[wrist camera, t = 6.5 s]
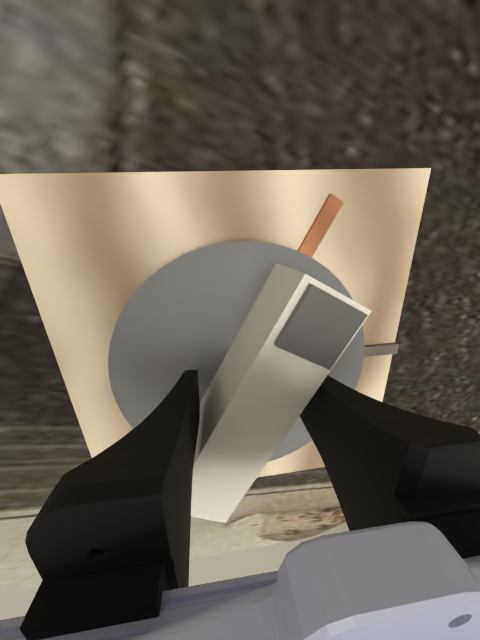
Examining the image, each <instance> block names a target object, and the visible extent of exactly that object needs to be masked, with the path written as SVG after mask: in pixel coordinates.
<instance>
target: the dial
mask: <svg viewBox="0 0 480 640" xmlns="http://www.w3.org/2000/svg"><path fill="white" fill-rule="evenodd" d="M371 312H372V311H371V310H369V309H368V308H366V307H364V306H362V305H360V304H359V303H357V302H355V301H353V299H352V297H351V295H350V294H349V292H348V291H347V289H346V288H345V287H344V285H343V284H342V283H341V281H340V280H339V279H338V278H337V277H336V276H335V275H334V274H333V273H332V272H331V271H330V270H328V269H327V268H326V267H325V266H323V265H322V264H320V263H319V262H317V261H316V260H315V259H313V258H311V257H309V256H307V255H305V254H303V253H301V252H299V251H297V250H294V249H291V248H288V247H285V246H282V245H278V244H272V243H266V242H260V241H230V242H221V243H216V244H212V245H208V246H204V247H200V248H198V249H195V250H193V251H191V252H188V253H186V254H183V255H181V256H180V257H178V258H176V259H175V260H173V261H171V262H169V263H168V264H166V265H164V266H163V267H161V268H160V269H159V270H158V271H156V272H155V273H154V274H153V275H151V276H150V277H149V278H148V279H147V280H146V281H145V282H144V283H143V284H142V285H141V286H140V287H139V288H138V289H137V290H136V291H135V292H134V294H133V295H132V296H131V298H130V299H129V301H128V302H127V304H126V305H125V307H124V308H123V310H122V312H121V314H120V316H119V318H118V320H117V322H116V324H115V327H114V331H113V334H112V337H111V341H110V347H109V355H108V373H109V379H110V384H111V389H112V392H113V395H114V398H115V401H116V403H117V405H118V407H119V409H120V411H121V413H122V414H123V416H124V418H125V419H126V420H127V422H128V423H129V424H130V426H131V427H132V428H133V429H134V428H135V427H136V426H137V425H139V424H140V423H141V422H142V421H143V420H144V419H145V418H146V417H147V416H148V415H149V414H150V413H151V412H152V411H153V410H154V409H155V408H156V407H157V406H158V405H159V404H160V403H161V401H162V400H163V399H164V398H165V397H166V396H167V394H168V393H169V392H170V391H171V389H172V388H173V387H174V385H175V384H176V383H177V381H178V380H179V378H180V377H181V375H182V374H183V372H184V371H185V370H198V383H199V397H200V420H199V429H198V436H197V443H196V450H195V458H194V465H193V475H192V497H191V517H197V518H202V519H208V520H213V521H218V522H224V523H226V521H227V520H228V518H229V517H230V515H231V514H232V512H233V511H234V510H235V508H236V507H237V505H238V504H239V502H240V501H241V499H242V498H243V497H244V495H245V494H246V492H247V491H248V489H249V488H250V486H251V485H252V484H253V482H254V481H255V479H256V478H257V476H258V475H259V473H260V472H261V471H262V469H263V468H264V466H265V465H266V463H267V462H270V461H273V460H276V459H279V458H281V457H283V456H286V455H288V454H290V453H292V452H294V451H296V450H298V449H300V448H302V447H303V446H305V445H306V444H308V443H309V442H311V441H312V439H311V437H310V435H309V433H308V431H307V429H306V427H305V425H304V423H303V422H302V420H301V418H300V414H301V413H302V411H303V410H304V408H305V407H306V406H307V404H308V403H309V401H310V400H311V398H312V397H313V395H314V394H315V392H316V391H317V390H318V388H319V387H320V385H321V384H322V382H323V381H324V379H325V378H326V377H327V375H329V376H330V377H332V378H334V379H335V380H337V381H339V382H341V383H343V384H344V385H346V386H348V387H350V388H352V389H354V390H355V388H356V386H357V383H358V380H359V377H360V374H361V370H362V366H363V360H364V349H365V346H364V332H363V327H362V325H363V323H364V322H365V320H366V319H367V317H368V316H369V314H370V313H371Z"/></svg>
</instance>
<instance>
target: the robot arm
mask: <svg viewBox="0 0 480 640" xmlns="http://www.w3.org/2000/svg"><path fill="white" fill-rule="evenodd" d="M300 418H301V420H302V422H303V423H304V425H305V427H306V429H307V431H308V433H309V435H310V437H311V439H312V440H313V442H314V444H315V446H316V448H317V450H318V452H319V454H320V456H321V458H322V460H323V463H324V465H325V468H326V470H327V472H328V475H329V477H330V480H331V482H332V485H333V487H334V490H335V493H336V495H337V498H338V500H339V503H340V506H341V508H342V511H343V514H344V517H345V519H346V522H347V525H348V528H349V530H350V531H348V532H342V533H336V534H330V535H324V536H320V537H317V538H313V539H310V540H307V541H304V542H302V543H300V544H299V545H298V546H296V547H295V548H294V549H292V550H291V551H289V552H288V553H287V554H286V556H285V558H284V560H283V562H282V564H281V566H280V568H279V570H278V571H274V572H268V573H262V574H257V575H251V576H246V577H241V578H234V579H229V580H223V581H218V582H212V583H207V584H201V585H195V586H190V587H188V581H189V549H190V521H191V497H192V475H193V465H194V458H195V450H196V443H197V436H198V429H199V420H200V397H199V383H198V370H185V371H184V372H183V374H182V375H181V377H180V378H179V380H178V381H177V383H176V384H175V385H174V387H173V388H172V389H171V391H170V392H169V393H168V394H167V396H166V397H165V398H164V399H163V400H162V401H161V403H160V404H159V405H158V406H157V407H156V408H155V409H154V410H153V411H152V412H151V413H150V414H149V415H148V416H147V417H146V418H145V419H144V420H143V421H142V422H141V423H140V424H139V425H137V426H136V427H135V428H134V429H132V430H131V431H130V432H129V433H127V434H126V435H125V436H124V437H122V438H121V439H120V440H118V441H117V442H115V443H114V444H113V445H111V446H110V447H108V448H107V449H105V450H104V451H102V452H101V453H99V454H98V455H96V456H95V457H93V458H91V459H90V460H88V461H86V462H84V463H83V464H81V465H79V466H78V467H76V468H74V469H73V470H71V471H69V472H67V473H66V474H64V475H63V477H62V478H61V479H60V481H59V482H58V484H57V485H56V486H55V488H54V489H53V491H52V492H51V494H50V496H49V497H48V499H47V500H46V502H45V504H44V505H43V507H42V508H41V510H40V512H39V513H38V515H37V517H36V518H35V520H34V521H33V523H32V525H31V526H30V528H29V530H28V531H27V535H26V540H25V542H26V546H27V549H28V552H29V555H30V557H31V559H32V560H33V562H34V564H35V566H36V568H37V570H38V572H39V574H40V576H41V578H42V580H43V581H42V583H41V585H40V587H39V589H38V591H37V593H36V595H35V598H34V600H33V601H32V603H31V605H30V608H29V610H28V612H27V614H26V616H22V617H16V618H11V619H5V620H0V640H480V434H479V433H478V432H477V431H475V430H474V429H472V428H470V427H466V426H461V425H457V424H453V423H448V422H444V421H440V420H436V419H432V418H429V417H425V416H422V415H418V414H415V413H412V412H408V411H405V410H402V409H399V408H397V407H394V406H391V405H388V404H386V403H383V402H381V401H378V400H376V399H373V398H371V397H369V396H367V395H364V394H362V393H360V392H358V391H356V390H354V389H352V388H350V387H348V386H346V385H344V384H343V383H341V382H339V381H337V380H335V379H334V378H332V377H330V376H329V375H327V377H326V378H325V379H324V381H323V382H322V384H321V385H320V387H319V388H318V390H317V391H316V392H315V394H314V395H313V397H312V398H311V400H310V401H309V403H308V404H307V406H306V407H305V408H304V410H303V411H302V413H301V414H300Z"/></svg>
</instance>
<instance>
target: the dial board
mask: <svg viewBox="0 0 480 640" xmlns="http://www.w3.org/2000/svg"><path fill="white" fill-rule="evenodd" d="M430 171H431V168H410V169H338V170H267V171H195V172H123V173H51V174H0V204H1V206H2V209H3V212H4V215H5V218H6V220H7V223H8V226H9V229H10V231H11V234H12V237H13V240H14V243H15V245H16V248H17V251H18V254H19V257H20V259H21V262H22V265H23V268H24V270H25V273H26V276H27V279H28V282H29V284H30V287H31V290H32V293H33V296H34V298H35V301H36V304H37V307H38V309H39V312H40V315H41V318H42V321H43V323H44V326H45V329H46V332H47V335H48V337H49V340H50V343H51V346H52V348H53V351H54V354H55V357H56V360H57V362H58V365H59V368H60V371H61V374H62V376H63V379H64V382H65V385H66V387H67V390H68V393H69V396H70V399H71V401H72V404H73V407H74V410H75V413H76V415H77V418H78V421H79V424H80V426H81V429H82V432H83V435H84V438H85V440H86V443H87V446H88V449H89V452H90V454H91V457H92V458H93V457H95V456H96V455H98V454H99V453H101V452H102V451H104V450H105V449H107V448H108V447H110V446H111V445H113V444H114V443H115V442H117V441H118V440H120V439H121V438H122V437H124V436H125V435H126V434H127V433H129V432H130V431H131V430H132V429H133V428H132V427H131V426H130V424H129V423H128V422H127V420H126V419H125V418H124V416H123V414H122V413H121V411H120V409H119V407H118V405H117V403H116V401H115V398H114V395H113V392H112V389H111V384H110V379H109V373H108V355H109V347H110V341H111V337H112V334H113V331H114V327H115V324H116V322H117V320H118V318H119V316H120V314H121V312H122V310H123V308H124V307H125V305H126V304H127V302H128V301H129V299H130V298H131V296H132V295H133V294H134V292H135V291H136V290H137V289H138V288H139V287H140V286H141V285H142V284H143V283H144V282H145V281H146V280H147V279H148V278H149V277H150V276H151V275H153V274H154V273H155V272H156V271H158V270H159V269H160V268H161V267H163V266H164V265H166V264H168V263H169V262H171V261H173V260H175V259H176V258H178V257H180V256H181V255H183V254H186V253H188V252H191V251H193V250H195V249H198V248H200V247H204V246H208V245H212V244H216V243H221V242H230V241H260V242H266V243H272V244H278V245H282V246H285V247H288V248H291V249H294V250H297V251H299V252H301V253H303V254H305V255H307V256H309V257H311V258H313V259H315V260H316V261H317V262H319V263H320V264H322V265H323V266H325V267H326V268H327V269H328V270H330V271H331V272H332V273H333V274H334V275H335V276H336V277H337V278H338V279H339V280H340V281H341V283H342V284H343V285H344V287H345V288H346V289H347V291H348V292H349V294H350V295H351V297H352V299H353V301H355V302H357V303H359V304H360V305H362V306H364V307H366V308H368V309H369V310H371V311H372V312H371V313H370V314H369V316H368V317H367V319H366V320H365V322H364V323H363V325H362V327H363V332H364V346H365V349H364V360H363V366H362V370H361V374H360V377H359V380H358V383H357V386H356V388H355V390H356V391H358V392H360V393H362V394H364V395H367V396H369V397H371V398H373V399H376V400H378V401H381V402H382V401H383V396H384V392H385V387H386V382H387V377H388V373H389V368H390V363H391V358H392V354H397V351H398V347H399V344H398V343H397V342H395V339H396V334H397V329H398V325H399V320H400V315H401V310H402V305H403V301H404V296H405V291H406V286H407V282H408V277H409V272H410V267H411V262H412V258H413V253H414V248H415V243H416V238H417V234H418V229H419V224H420V219H421V215H422V210H423V205H424V200H425V195H426V191H427V186H428V181H429V176H430ZM320 467H325V465H324V463H323V460H322V458H321V456H320V454H319V452H318V450H317V448H316V446H315V444H314V442H313V440H312V441H311V442H309V443H308V444H306V445H305V446H303V447H302V448H300V449H298V450H296V451H294V452H292V453H290V454H288V455H286V456H283V457H281V458H279V459H276V460H273V461H270V462H267V463H266V465H265V466H264V468H263V469H262V471H261V472H260V473H259V475H258V476H257V477H263V476H269V475H276V474H282V473H288V472H295V471H301V470H307V469H314V468H320Z"/></svg>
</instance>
